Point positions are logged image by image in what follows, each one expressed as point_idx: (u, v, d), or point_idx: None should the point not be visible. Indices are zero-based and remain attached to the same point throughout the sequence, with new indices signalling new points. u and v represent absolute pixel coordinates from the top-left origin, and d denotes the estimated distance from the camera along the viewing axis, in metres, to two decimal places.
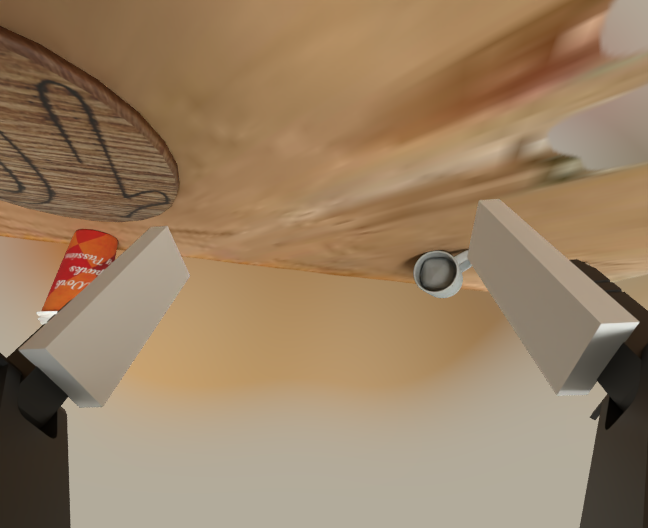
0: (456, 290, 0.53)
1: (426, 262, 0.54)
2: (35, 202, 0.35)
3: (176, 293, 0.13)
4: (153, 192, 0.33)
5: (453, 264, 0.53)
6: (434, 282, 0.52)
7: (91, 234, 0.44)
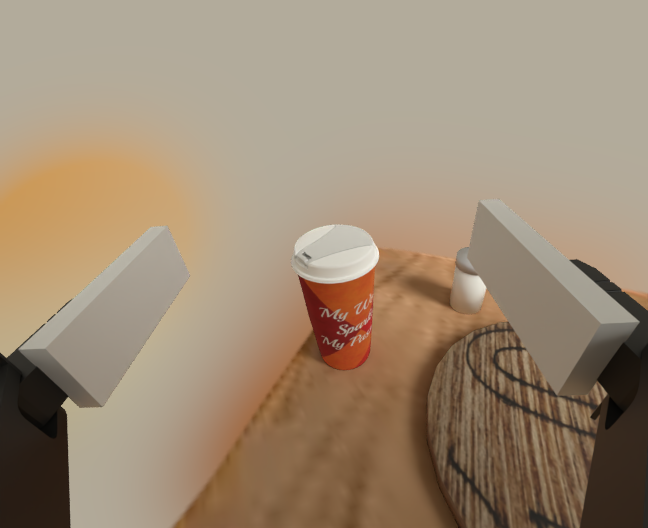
0: None
1: None
2: (471, 363, 0.28)
3: (176, 293, 0.13)
4: None
5: None
6: None
7: (367, 354, 0.31)
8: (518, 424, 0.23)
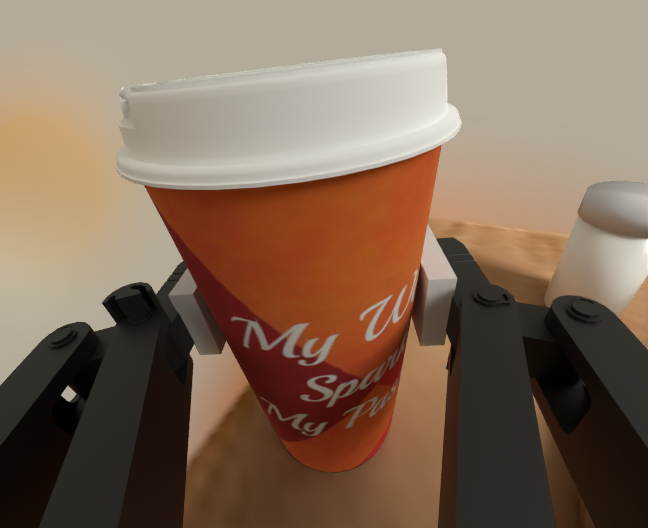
0: None
1: None
2: None
3: None
4: None
5: None
6: None
7: (387, 431, 0.13)
8: None
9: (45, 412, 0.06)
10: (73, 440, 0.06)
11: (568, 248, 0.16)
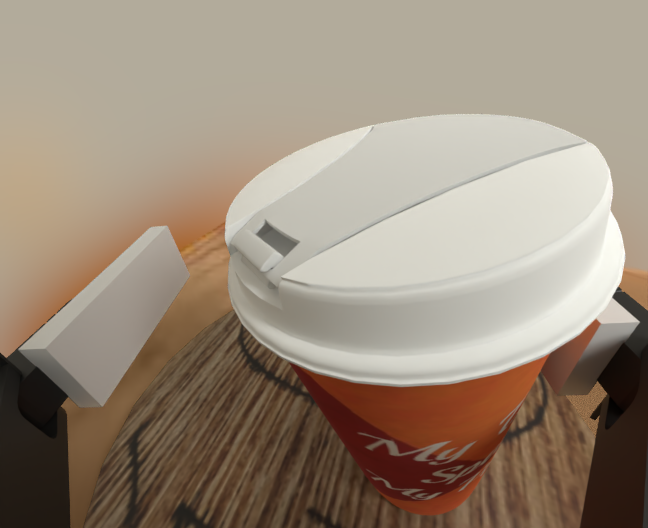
0: None
1: None
2: None
3: (176, 293, 0.13)
4: None
5: None
6: None
7: None
8: (248, 393, 0.18)
9: None
10: None
11: None
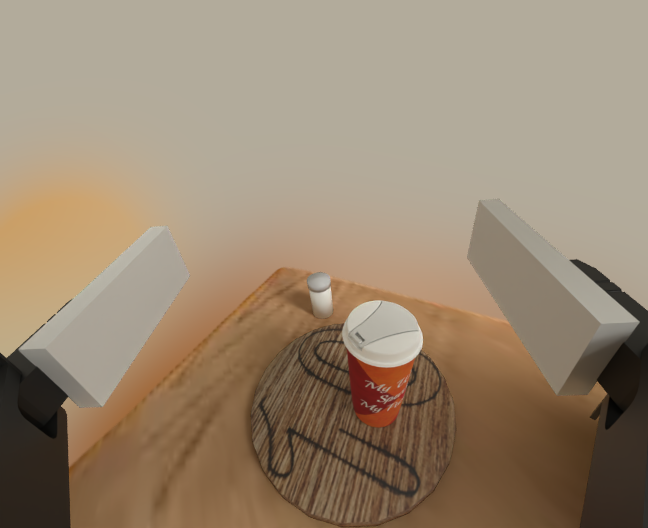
0: None
1: None
2: (301, 350, 0.44)
3: (176, 293, 0.13)
4: (290, 466, 0.32)
5: None
6: None
7: (397, 414, 0.34)
8: (308, 385, 0.39)
9: None
10: None
11: None
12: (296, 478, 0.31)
